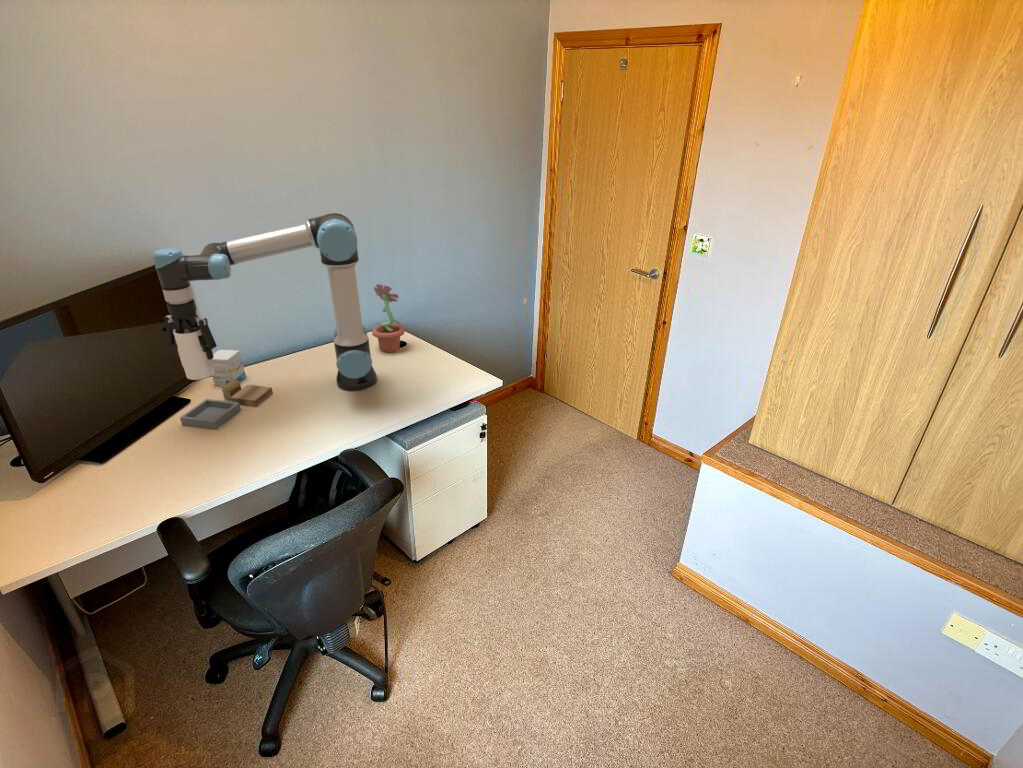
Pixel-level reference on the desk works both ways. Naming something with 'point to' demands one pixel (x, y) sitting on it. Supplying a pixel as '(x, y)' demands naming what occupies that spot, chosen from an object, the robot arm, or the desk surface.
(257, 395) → the brown wooden square block
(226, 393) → the bench dog
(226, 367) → the ink box
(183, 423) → the tray
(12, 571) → the desk surface
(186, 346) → the cup
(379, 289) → the decorative flower
